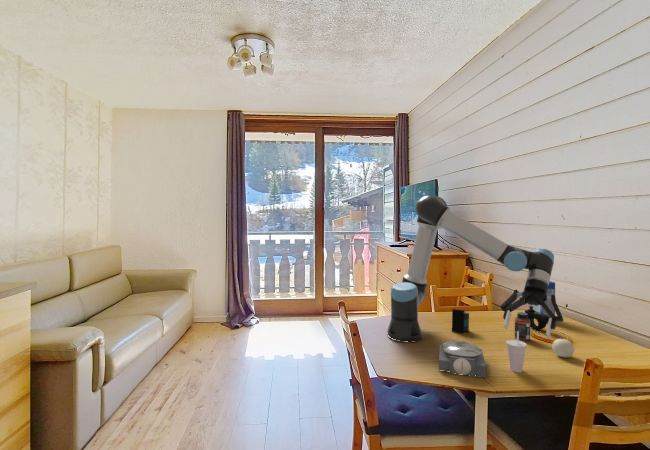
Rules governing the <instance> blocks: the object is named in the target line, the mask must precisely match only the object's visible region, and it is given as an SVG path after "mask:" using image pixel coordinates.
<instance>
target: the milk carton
mask: <svg viewBox="0 0 650 450" xmlns="http://www.w3.org/2000/svg"><path fill="white" fill-rule="evenodd" d="M551 295H555V296H556V282H554V281H551V280H550V281H549V285H548V291H547V296H551ZM545 304H546V305H547V306H548V308H549V309H550V310H551V311H552V313H553V314H554V315H555V316H556V312H555V309H554V307H553V305H552V302H550V301H549V300H548V299H547V300H546V301H545ZM529 306H532V307H534V308H533V310H535V311H536V312H540V313H542V314H545V315H548V314H547V313H546V311H545V310H544V309H543V308H542V307H541V306H540V305H538V306H535V305H529ZM548 316H549V315H548Z"/></svg>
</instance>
